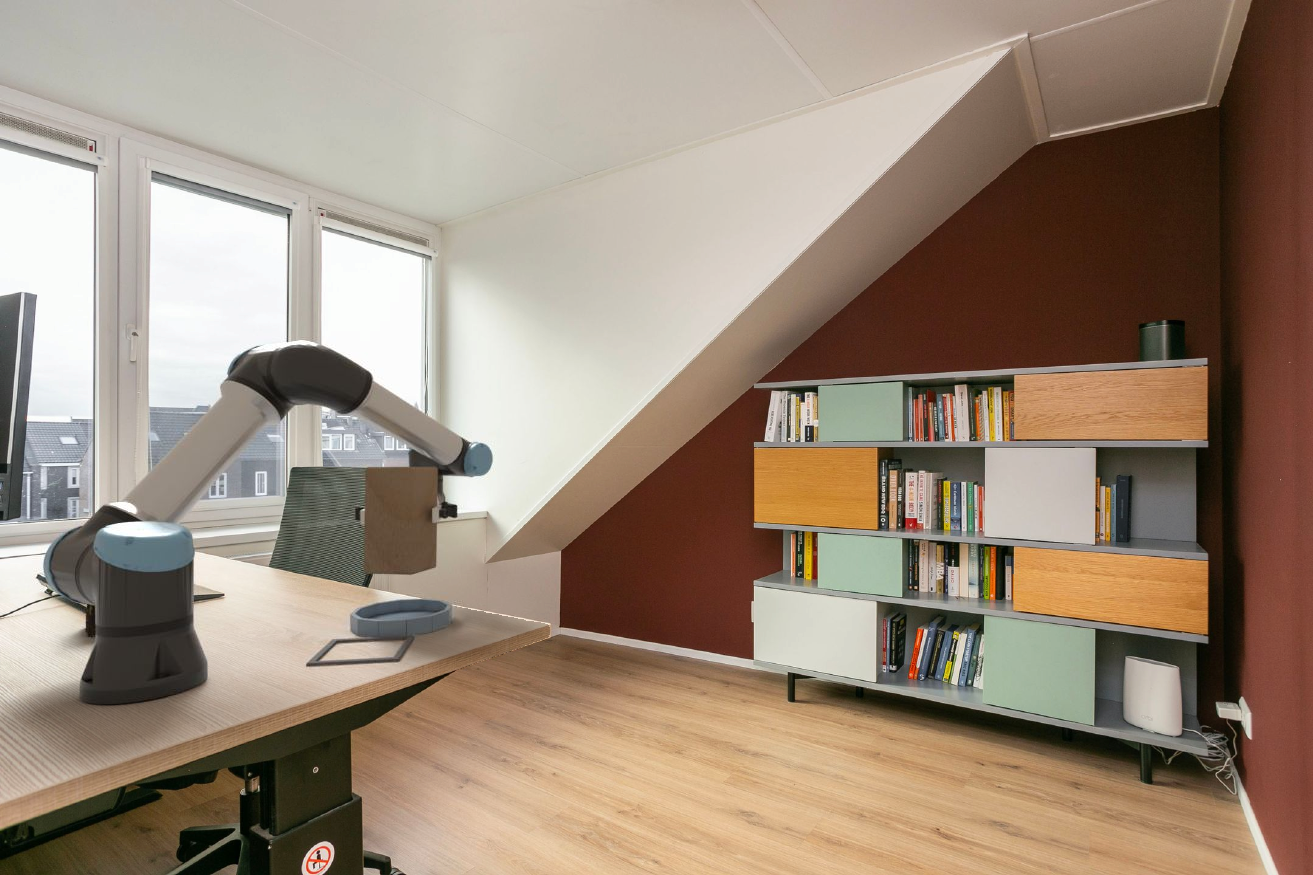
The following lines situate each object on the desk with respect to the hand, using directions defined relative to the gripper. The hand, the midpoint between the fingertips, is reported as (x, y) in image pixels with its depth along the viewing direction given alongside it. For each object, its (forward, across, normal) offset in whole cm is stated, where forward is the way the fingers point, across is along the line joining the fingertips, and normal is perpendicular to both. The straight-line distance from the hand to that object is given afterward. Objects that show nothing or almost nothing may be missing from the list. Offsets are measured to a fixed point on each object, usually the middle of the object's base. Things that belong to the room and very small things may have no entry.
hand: (398, 516), depth 135 cm
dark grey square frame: (+14, +3, -21) cm, 25 cm away
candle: (-11, +54, -21) cm, 59 cm away
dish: (-3, 0, -21) cm, 21 cm away
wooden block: (-3, 0, -11) cm, 11 cm away
